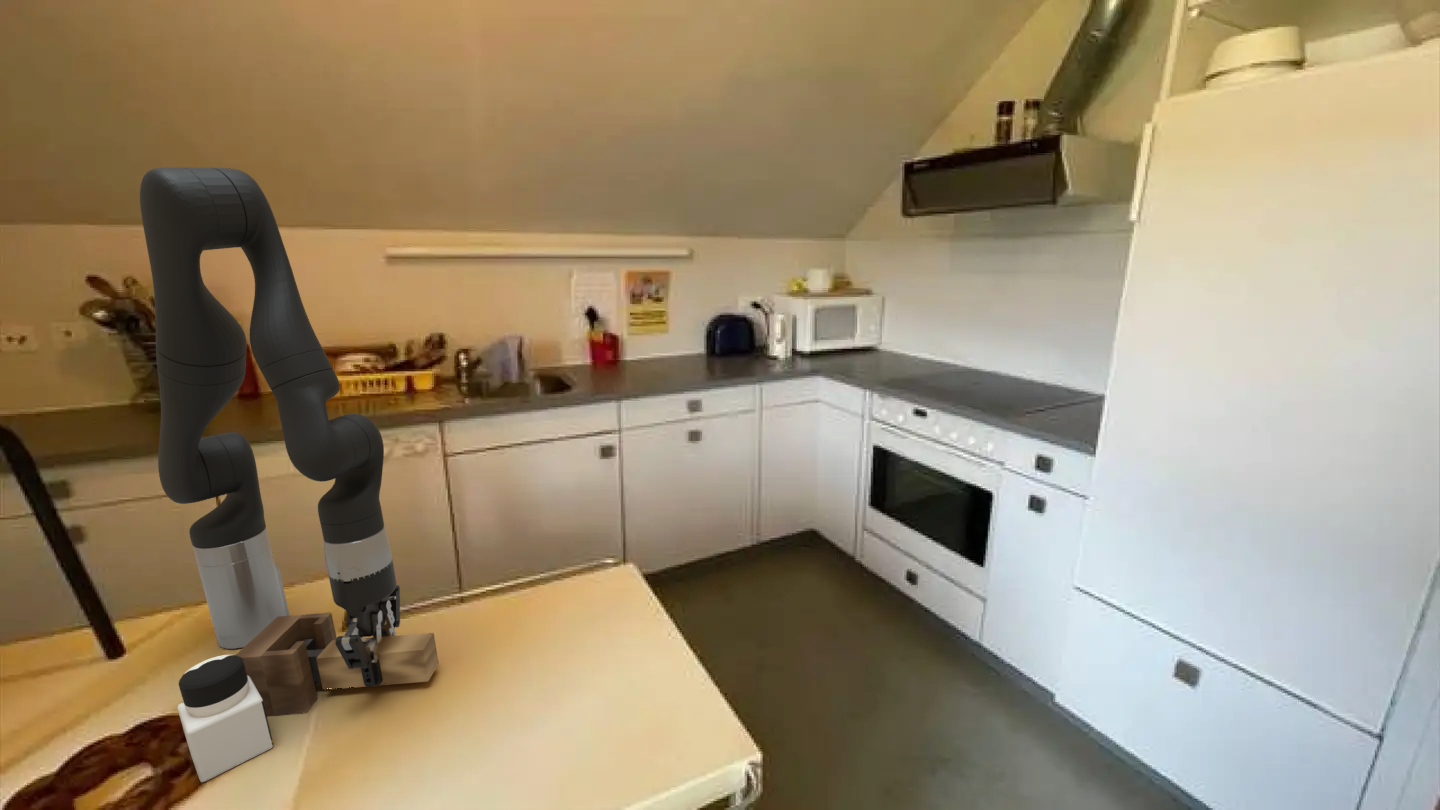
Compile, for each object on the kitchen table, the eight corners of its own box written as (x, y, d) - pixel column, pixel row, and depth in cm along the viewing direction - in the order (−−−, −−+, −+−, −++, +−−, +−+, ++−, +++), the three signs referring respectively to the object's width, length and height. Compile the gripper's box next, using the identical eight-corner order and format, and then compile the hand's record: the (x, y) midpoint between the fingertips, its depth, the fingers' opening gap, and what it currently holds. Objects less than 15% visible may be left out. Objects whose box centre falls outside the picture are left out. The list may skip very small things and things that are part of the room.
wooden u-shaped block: (342, 666, 90) (331, 612, 88) (305, 712, 81) (292, 653, 79) (289, 670, 90) (277, 616, 88) (246, 717, 81) (231, 658, 79)
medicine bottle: (274, 747, 75) (254, 663, 73) (201, 785, 70) (175, 695, 68) (260, 720, 80) (240, 640, 77) (190, 753, 75) (166, 668, 72)
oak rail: (440, 659, 89) (435, 629, 88) (426, 684, 84) (420, 653, 83) (312, 669, 88) (306, 639, 87) (290, 696, 83) (282, 664, 82)
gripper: (357, 541, 89) (376, 644, 93) (300, 593, 75) (326, 712, 79) (410, 537, 89) (427, 640, 93) (364, 588, 75) (386, 707, 79)
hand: (381, 673), depth 86 cm, fingers closed on oak rail, 4 cm apart
